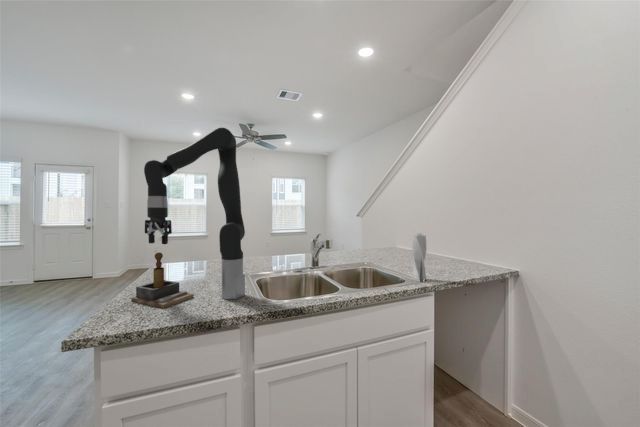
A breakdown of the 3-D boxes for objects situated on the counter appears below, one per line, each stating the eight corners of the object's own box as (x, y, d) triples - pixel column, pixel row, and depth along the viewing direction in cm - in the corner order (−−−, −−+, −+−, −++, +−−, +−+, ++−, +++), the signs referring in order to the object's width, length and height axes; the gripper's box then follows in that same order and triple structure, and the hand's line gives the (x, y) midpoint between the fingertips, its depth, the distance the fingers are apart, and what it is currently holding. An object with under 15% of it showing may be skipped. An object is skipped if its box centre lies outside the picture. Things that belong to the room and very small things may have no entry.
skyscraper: (408, 279, 144) (408, 230, 144) (416, 277, 149) (416, 230, 148) (421, 282, 137) (422, 231, 137) (429, 280, 142) (430, 230, 142)
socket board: (193, 297, 112) (193, 283, 112) (163, 308, 99) (163, 293, 99) (162, 291, 120) (162, 279, 120) (131, 301, 107) (131, 287, 107)
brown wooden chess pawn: (158, 296, 107) (158, 254, 107) (145, 295, 108) (145, 253, 108) (171, 291, 113) (170, 251, 113) (158, 290, 115) (158, 251, 115)
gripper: (176, 206, 111) (177, 243, 111) (155, 207, 117) (155, 242, 117) (160, 206, 104) (160, 245, 104) (138, 206, 110) (138, 244, 110)
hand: (158, 243), depth 111 cm, fingers open, 8 cm apart
